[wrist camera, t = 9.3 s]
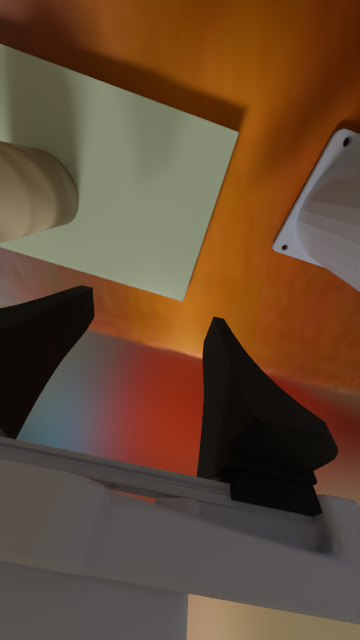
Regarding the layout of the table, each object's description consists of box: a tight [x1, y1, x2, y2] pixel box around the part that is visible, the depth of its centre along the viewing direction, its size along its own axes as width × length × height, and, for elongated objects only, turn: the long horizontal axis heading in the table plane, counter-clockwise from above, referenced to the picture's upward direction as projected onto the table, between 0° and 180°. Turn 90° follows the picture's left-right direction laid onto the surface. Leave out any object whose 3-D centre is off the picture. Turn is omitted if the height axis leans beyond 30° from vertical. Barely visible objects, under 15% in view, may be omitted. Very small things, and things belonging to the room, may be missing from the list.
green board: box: [0, 44, 239, 301], centre depth 16 cm, size 22×13×2 cm, turn 74°
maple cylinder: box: [0, 141, 79, 242], centre depth 13 cm, size 5×5×6 cm
